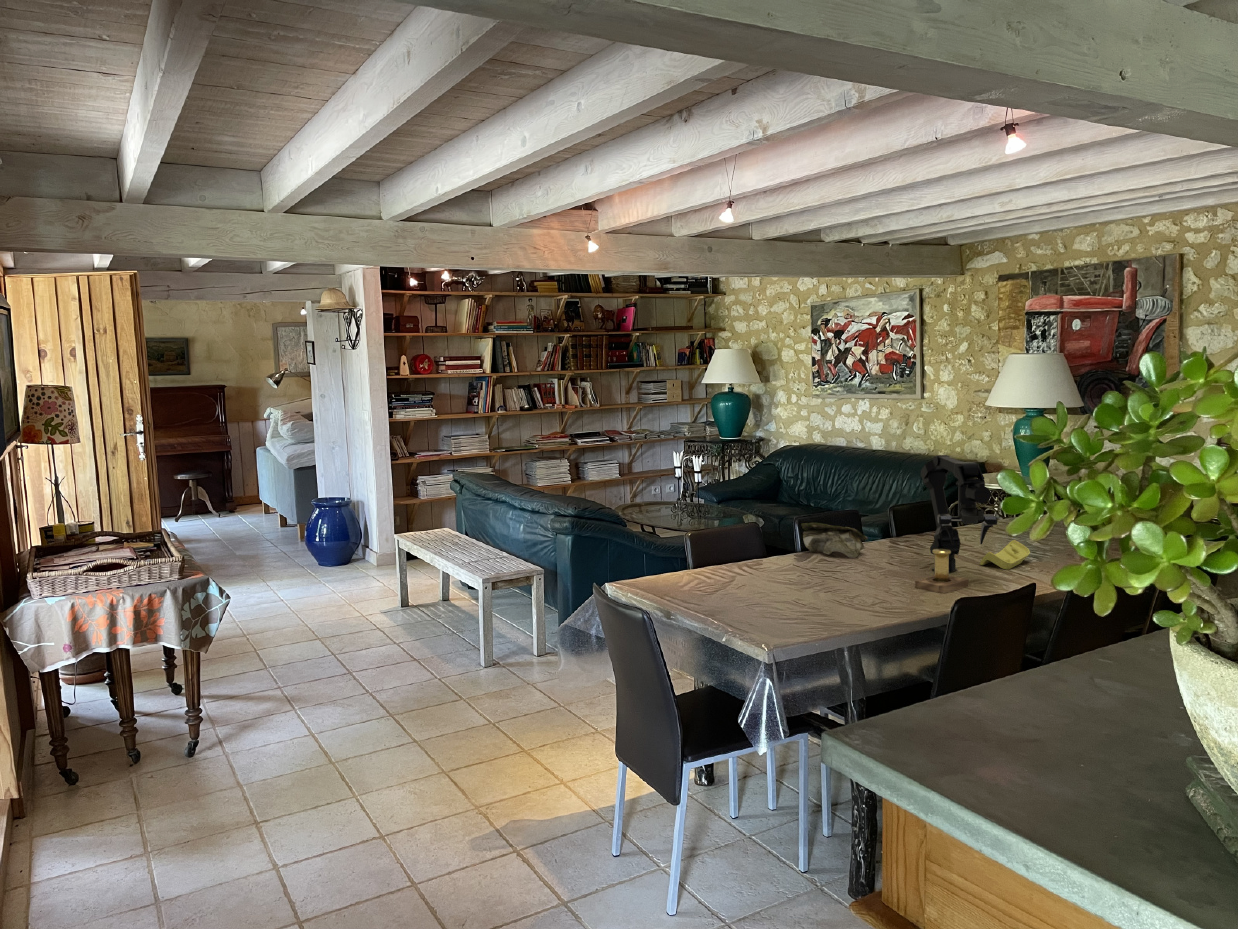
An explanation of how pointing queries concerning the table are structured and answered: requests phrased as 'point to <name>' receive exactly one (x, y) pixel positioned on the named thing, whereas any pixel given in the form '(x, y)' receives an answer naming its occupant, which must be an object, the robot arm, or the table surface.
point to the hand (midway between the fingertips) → (966, 544)
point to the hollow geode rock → (833, 539)
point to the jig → (941, 584)
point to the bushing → (942, 565)
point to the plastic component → (1007, 555)
